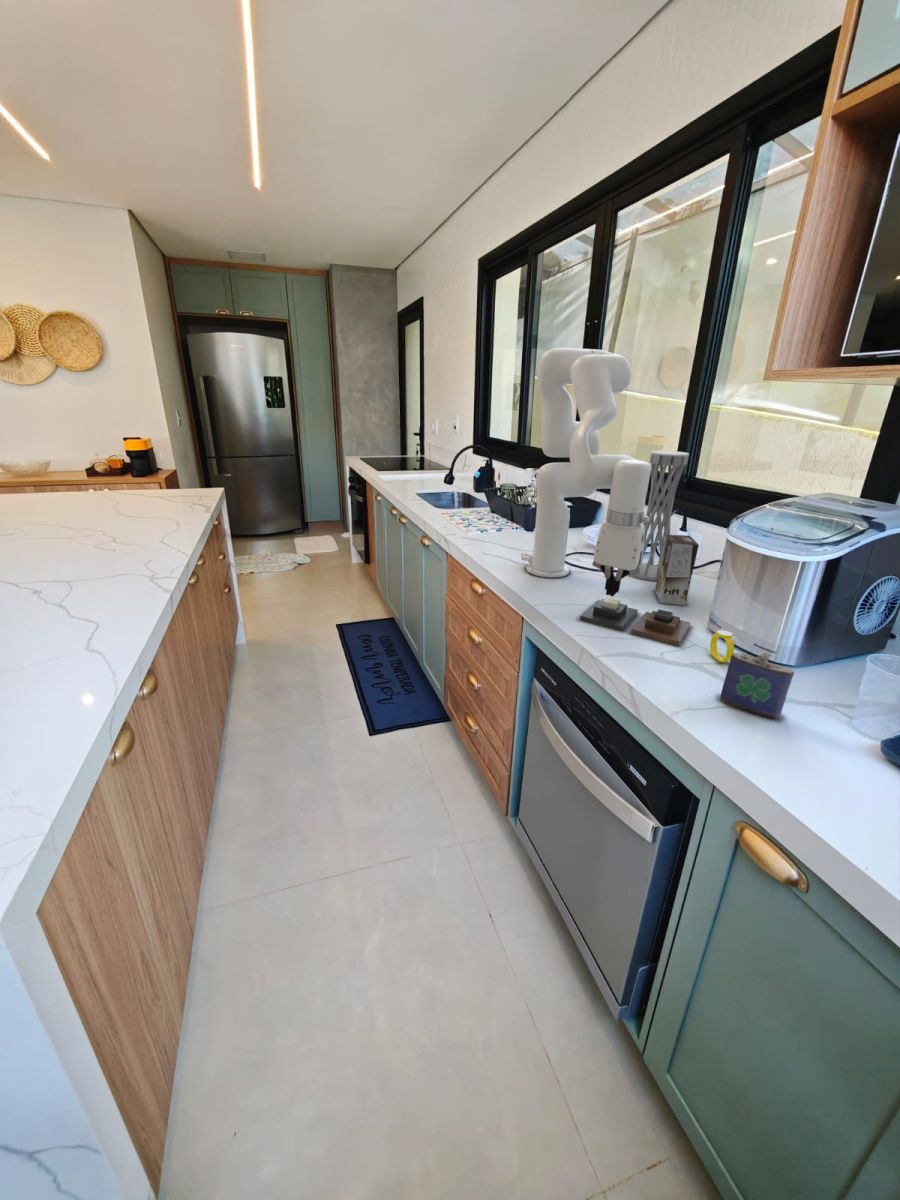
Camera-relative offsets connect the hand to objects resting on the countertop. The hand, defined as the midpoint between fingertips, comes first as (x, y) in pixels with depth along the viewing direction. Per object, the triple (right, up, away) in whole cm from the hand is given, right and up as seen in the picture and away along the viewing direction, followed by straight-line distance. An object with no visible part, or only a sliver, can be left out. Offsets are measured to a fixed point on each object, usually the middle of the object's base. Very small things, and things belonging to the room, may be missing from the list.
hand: (611, 593), depth 119 cm
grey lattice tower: (+21, +6, +32) cm, 39 cm away
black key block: (0, -6, +2) cm, 6 cm away
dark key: (+10, -6, -5) cm, 13 cm away
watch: (+17, -14, -16) cm, 27 cm away
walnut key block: (+10, -8, -4) cm, 14 cm away
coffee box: (+20, -1, +14) cm, 24 cm away
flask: (+13, -20, -32) cm, 40 cm away
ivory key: (0, -3, +1) cm, 3 cm away
